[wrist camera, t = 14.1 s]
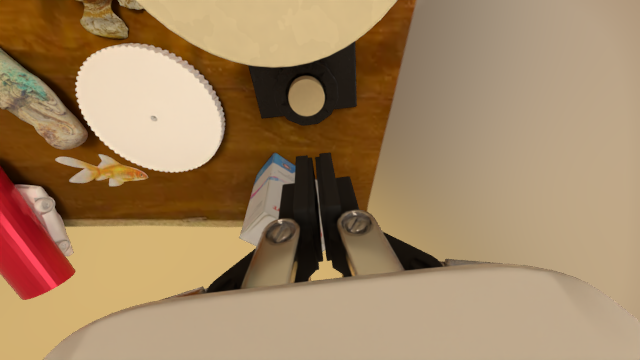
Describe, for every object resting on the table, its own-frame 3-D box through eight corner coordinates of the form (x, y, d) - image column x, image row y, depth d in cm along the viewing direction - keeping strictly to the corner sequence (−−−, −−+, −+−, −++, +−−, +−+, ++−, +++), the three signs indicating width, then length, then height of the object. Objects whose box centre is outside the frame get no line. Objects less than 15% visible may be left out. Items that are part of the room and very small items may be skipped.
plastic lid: (63, 92, 26) (44, 99, 24) (151, 9, 23) (137, 9, 21) (172, 178, 34) (165, 189, 32) (251, 126, 30) (248, 134, 28)
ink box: (254, 175, 34) (235, 240, 24) (274, 151, 32) (263, 210, 22) (301, 204, 38) (302, 271, 28) (323, 183, 36) (331, 247, 26)
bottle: (26, 288, 34) (-86, 152, 28) (76, 265, 37) (-13, 138, 31) (16, 306, 30) (-117, 152, 23) (74, 278, 33) (-30, 136, 27)
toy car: (-15, 187, 30) (15, 177, 33) (22, 264, 35) (45, 249, 38) (33, 189, 31) (58, 179, 34) (63, 265, 35) (83, 250, 38)
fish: (67, 183, 33) (50, 150, 30) (68, 183, 33) (50, 150, 30) (151, 188, 34) (141, 157, 32) (151, 188, 34) (141, 157, 32)
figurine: (-34, -22, 21) (-93, -28, 18) (105, 133, 29) (82, 147, 26) (-81, 2, 22) (-145, 0, 19) (68, 146, 30) (41, 162, 27)
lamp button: (325, 108, 26) (326, 114, 25) (292, 112, 26) (291, 118, 25) (321, 73, 24) (322, 76, 23) (285, 77, 24) (284, 81, 23)
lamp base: (354, 108, 30) (360, 118, 27) (264, 119, 30) (261, 131, 27) (349, -57, 21) (357, -68, 18) (225, -41, 21) (214, -49, 19)
